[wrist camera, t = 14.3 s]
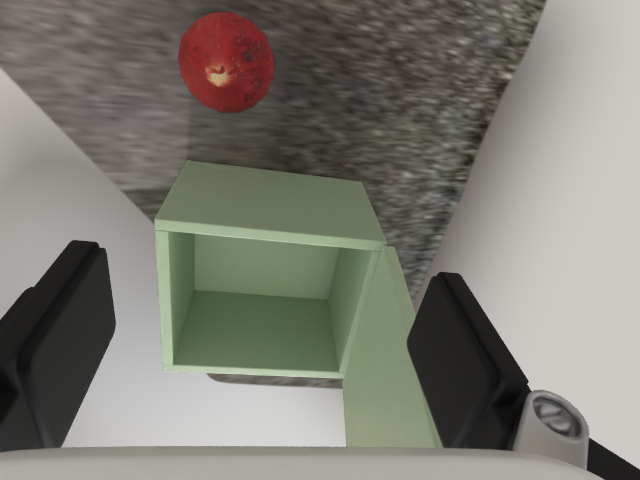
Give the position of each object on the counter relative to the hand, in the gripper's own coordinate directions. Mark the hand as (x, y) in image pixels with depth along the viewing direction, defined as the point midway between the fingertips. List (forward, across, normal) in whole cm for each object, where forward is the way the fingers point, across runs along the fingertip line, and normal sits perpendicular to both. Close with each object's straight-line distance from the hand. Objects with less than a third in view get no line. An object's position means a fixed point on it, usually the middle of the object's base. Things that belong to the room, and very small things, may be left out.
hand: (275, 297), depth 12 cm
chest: (+22, -1, +12) cm, 25 cm away
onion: (+22, +3, -3) cm, 23 cm away
